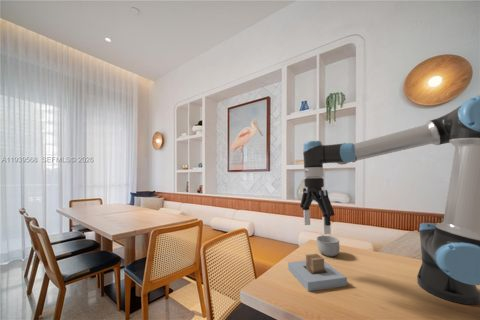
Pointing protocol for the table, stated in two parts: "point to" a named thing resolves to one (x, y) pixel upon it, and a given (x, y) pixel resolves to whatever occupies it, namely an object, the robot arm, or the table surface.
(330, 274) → the housing
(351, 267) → the table surface
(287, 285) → the table surface
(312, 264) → the peg
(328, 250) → the teacup
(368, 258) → the table surface
